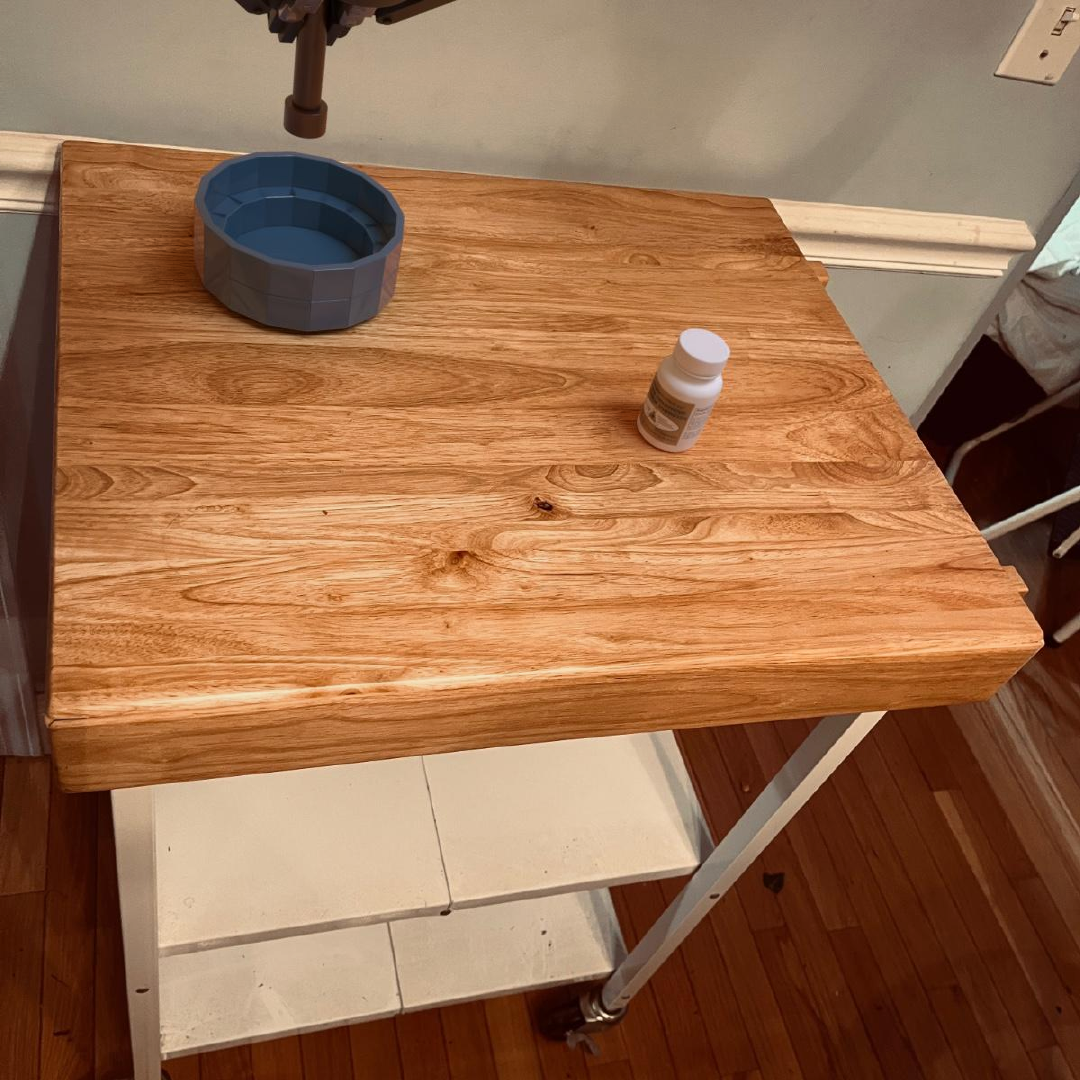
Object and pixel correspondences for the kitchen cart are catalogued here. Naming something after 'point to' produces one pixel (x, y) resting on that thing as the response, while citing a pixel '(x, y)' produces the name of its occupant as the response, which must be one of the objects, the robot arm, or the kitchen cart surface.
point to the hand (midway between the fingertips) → (302, 25)
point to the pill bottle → (684, 391)
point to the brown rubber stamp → (309, 78)
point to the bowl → (297, 240)
